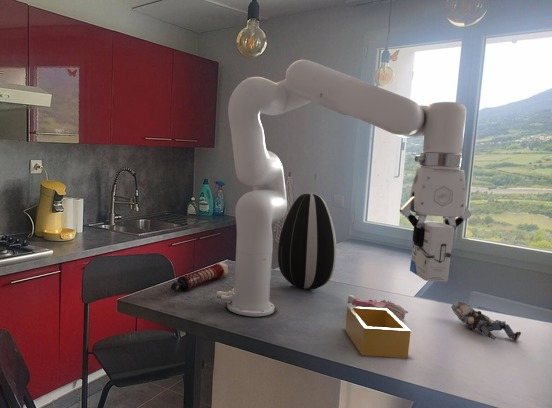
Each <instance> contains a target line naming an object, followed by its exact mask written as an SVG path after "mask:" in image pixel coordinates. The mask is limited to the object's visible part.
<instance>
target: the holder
mask: <svg viewBox="0 0 552 408" xmlns="http://www.w3.org/2000/svg"><path fill="white" fill-rule="evenodd" d="M345 318H346V319H345V328H344V329H345V330H344V331H345V332H346V334H347V335H348V337H349V338H350V340H351V341H352V342H353V344H354V346H355V347H356V349H357V350H358V352H359V353H360V355H361V356H367V357H368V356H370V357H383V358H398V359H399V358H401V359H408V358H409V349H410V340H411V329H410V328H408V326H407V325H405V324H404V322H401V321H400V320H399V319H398V318H397V317H396V316H395V315H393V314H392V313H391V312H390V311H389V310H388V309H381V308H365V307H357V306H347V307H346V317H345Z"/></svg>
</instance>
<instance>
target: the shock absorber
mask: <svg viewBox="0 0 552 408" xmlns="http://www.w3.org/2000/svg"><path fill="white" fill-rule="evenodd" d="M228 274H229V265H228V264H227V263H225V262H223V261H221V262H216V263H215V264H213V265H209V266H208V267H205V268H204V267H203V268H202V269H198V270H195V271H193V272H190V273H187V274H184V275H181V276H179V277H178V278H177V279H176V281H174V282H173V283H171V286H170V289H171V290H172V291H173V292H177V291H178V290H181V291H183V292H186V291H189V290H190V289H194V288H196V287H197V286H201V285H203V284H206V283H208V282H211V281H213V280H216V279H220V278H223V277H225V276H226V275H228ZM195 281H196V282H195ZM192 283H193V284H192Z"/></svg>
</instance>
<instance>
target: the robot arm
mask: <svg viewBox="0 0 552 408" xmlns="http://www.w3.org/2000/svg"><path fill="white" fill-rule="evenodd" d="M310 103H315V104H317V105H319V106H322V107H324V108H326V109H329V110H331V111H333V112H335V113H337V114H341V115H343V116H348V117H349V116H350V117H353V118H355V119H358V120H360V121H362V122H365V123H367V124H369V125H372V126H374V127H377V128H379V129H380V130H381V129H382V130H383V131H385V132H388V133H390V134H393V135H395V136H397V137H400V138H405V139H410V138H418V137H420V138H421V137H423V140H422V148H421V152H420V154H419V155H415V157H414V162H417V163H419V165H420V167H417V168H416V171H415V173H414V176H413V181H412V185H411V191H410V196H409V199H408V200H407V201H406V202H405V203H404V204H403V205H402V206H401V207H400V209H399V213H400V214H401V215H402V216H404V217H405V218H406V219H407V221H409V223H410V224H411V226H412V227H413V231H412V243H413V242H414V245H416V246H418V247H422V246H423V242H424V233H425V229H423V224H424V221H426V219H427V217H429V216H431V217H442V220H443V223H444V224H447V225H449V226H452V227H454V231H455V230H457V228H458V227H459V226H460V225H461V224H462V223H463V222H465V221H466V220H468V219H469V218H470V217H471V216H472V213H471V211H470V209H468V207H467V205H466V200H467V199H466V198H467V185H466V174H465V170H464V169H461V164H462V153H463V146H464V136H465V127H466V118H467V107H466V106H465V105H464V103H461V102H457V101H440V102H439V101H438V102H432V103H430V104H429V105H422V104H418V103H417V102H415V101H414V100H412V99H410V98H408V97H405V96H403V95H401V94H398V93H394V92H392V91H390V90H387V89H384V88H382V87H379V86H376V85H374V84H371V83H368V82H366V81H364V80H362V79H359V78H357V77H354V76H352V75H349V74H346V73H344V72H341V71H338V70H336V69H333V68H331V67H328V66H326V65H323V64H320V63H318V62H315V61H313V60H309V59H299V60H298V59H297V60H296V61H294V62H293V63H291V64H290V65H289V67H287V69H286V73H285V79H283V80H280V81H277V82H275V81H272V80H270V79H268V78H265V77H261V76H252V77H247V78H246V79H244V80H242V81H241V82H240V83H239V84H238V85H237V86H236V87H235V89H233V91H232V93H231V95H230V97H229V101H228V106H227V115H228V123H229V129H230V136H231V146H232V154H233V161H234V163H233V164H234V171H235V176H236V178H237V179H238V181H239V182H240V183H242V184H243V185H245V186H252V190H251V191H248V192H245V193H244V194H243V195H242V196H241V197H240V198H239V199H238V201H237V202H236V205H235V209H234V210H235V212H234V215H235V225H236V245H235V263H234V264H235V265H234V280H233V287H232V288H231V290H228V291H223V290H222V291H221V290H217V291H216V299H219V300H220V301H222V302H226V304H227V305H226V308H227V310H228V311H230V312H232V313H234V314H237V315H240V316H244V317H253V318H254V317H267V316H270V315H272V314H274V312H275V305H274V304H273V303H272V302H271V301H270V294H271V293H270V292H271V278H272V277H271V276H272V266H273V265H272V263H273V262H272V261H273V251H274V250H273V249H274V237H273V228H272V224H275V223H278V222H279V221H281V220H282V219H283V218H284V217H285V215H286V213H287V210H288V199H287V191H286V189H287V188H286V183H285V176H284V175H285V174H284V167H283V164H282V162H281V159H280V158H279V157H278V155H277V154H275V152H273V151H270V150H267V147H266V146H267V145H266V141H265V140H266V139H265V132H264V127H263V124H262V122H261V118H260V115H261V114H264V115H267V116H279V115H282V114H285V113H288V112H290V111H292V110H295V109H298V108H301V107H303V106H306V105H308V104H310ZM413 213H415V214H413Z"/></svg>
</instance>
